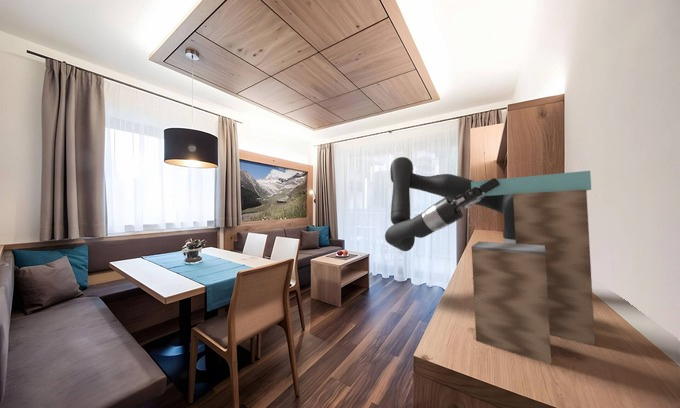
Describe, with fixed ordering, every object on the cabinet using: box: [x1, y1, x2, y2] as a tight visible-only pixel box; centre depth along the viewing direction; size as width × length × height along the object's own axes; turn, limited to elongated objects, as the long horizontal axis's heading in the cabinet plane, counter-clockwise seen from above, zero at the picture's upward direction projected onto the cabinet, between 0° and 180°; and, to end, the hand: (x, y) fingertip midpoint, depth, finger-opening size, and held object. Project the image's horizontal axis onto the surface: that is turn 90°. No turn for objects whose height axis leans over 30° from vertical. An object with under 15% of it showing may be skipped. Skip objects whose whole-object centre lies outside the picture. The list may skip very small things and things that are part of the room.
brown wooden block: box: [471, 241, 552, 365], centre depth 48 cm, size 12×8×21 cm, turn 48°
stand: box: [513, 190, 596, 347], centre depth 52 cm, size 12×7×32 cm, turn 48°
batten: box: [471, 170, 592, 196], centre depth 55 cm, size 22×4×4 cm, turn 48°
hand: (498, 181), depth 59 cm, fingers closed on batten, 4 cm apart
